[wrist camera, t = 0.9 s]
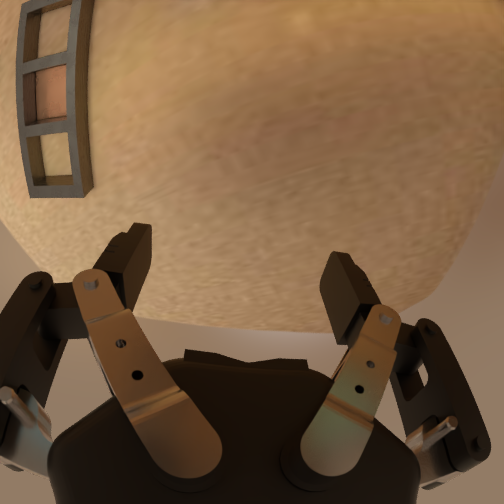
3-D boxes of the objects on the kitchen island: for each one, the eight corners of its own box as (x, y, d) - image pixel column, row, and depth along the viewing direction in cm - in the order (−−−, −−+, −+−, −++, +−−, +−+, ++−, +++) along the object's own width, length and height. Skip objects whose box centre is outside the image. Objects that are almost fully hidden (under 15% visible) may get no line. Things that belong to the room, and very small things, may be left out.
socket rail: (35, 5, 15) (21, 3, 13) (96, -14, 16) (85, -19, 14) (41, 187, 31) (30, 198, 28) (93, 186, 32) (84, 197, 30)
